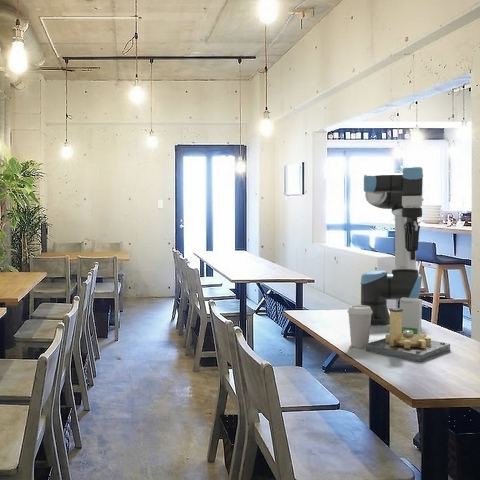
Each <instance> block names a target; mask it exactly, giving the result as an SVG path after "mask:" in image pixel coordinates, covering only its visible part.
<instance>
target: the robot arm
mask: <svg viewBox="0 0 480 480" xmlns="http://www.w3.org/2000/svg"><path fill="white" fill-rule="evenodd" d="M423 173H424V171H423V168H422V167H421V166H404V167H403V168H402V173H366V174H364V176H363V192H364V194H365V195H364V196H365V200H366V201H367V203H368V204H370V205H371V206H373V207H375V208H377V209H383V210H391V214H392V215H393V217H394V229H395V230H394V246H395V247H394V252H395V254H394V256H395V257H394V261H395V262H394V264H395V265H394V267H393V269H391V273H388V272H387V270H381V269H380V270H371V271H367V272H364V273H362V274H361V279H360V305H365V306H370V307H371V310H372V311H373V313H372V314H371V324H370V326H371V325H372V326H373V325H374V326H377V325H378V326H379V325H380V326H381V325H388V324H389V325H390V311H389V309H388V302H387V301H388V300H396V301H397V300H398V301H400V299H401V298H402V297H405V298H415V299H419V297H420V294H421V288H422V279H423V278H422V277H423V276H422V274H419V269H418V268H417V267H416V266H417V251H419V242H420V230H421V229H420V228H421V226H420V224H419V222H418V218H422V217H423V207H422V206H423V201H424V198H423V185H424V184H423V181H424V179H423V178H424V174H423Z"/></svg>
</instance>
